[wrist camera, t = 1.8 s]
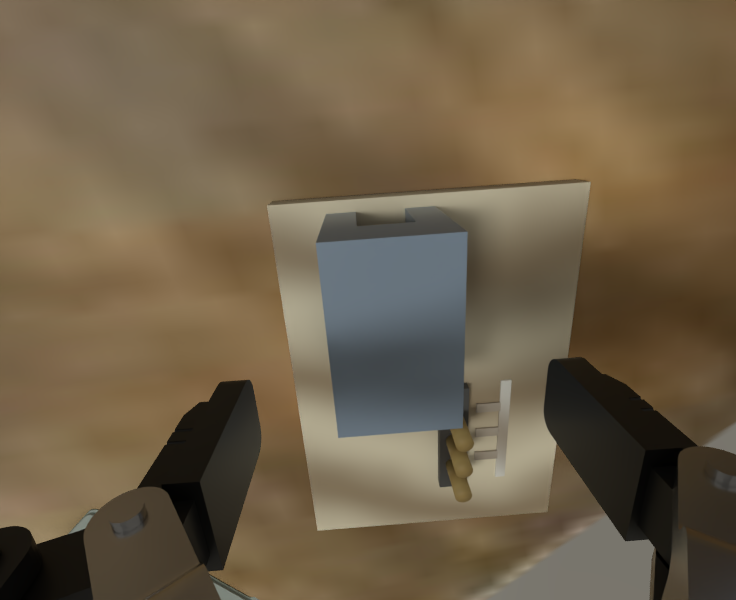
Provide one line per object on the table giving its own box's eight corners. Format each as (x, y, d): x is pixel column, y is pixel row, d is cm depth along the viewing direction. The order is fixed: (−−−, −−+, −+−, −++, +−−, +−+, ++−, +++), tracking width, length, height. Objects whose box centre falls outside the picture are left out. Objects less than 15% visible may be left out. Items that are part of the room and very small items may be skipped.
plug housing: (325, 213, 16) (315, 243, 12) (434, 206, 16) (467, 231, 12) (341, 364, 19) (338, 437, 14) (435, 357, 19) (462, 428, 14)
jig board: (272, 201, 17) (252, 216, 14) (575, 179, 17) (630, 188, 14) (319, 512, 24) (313, 574, 20) (538, 494, 24) (569, 553, 20)
